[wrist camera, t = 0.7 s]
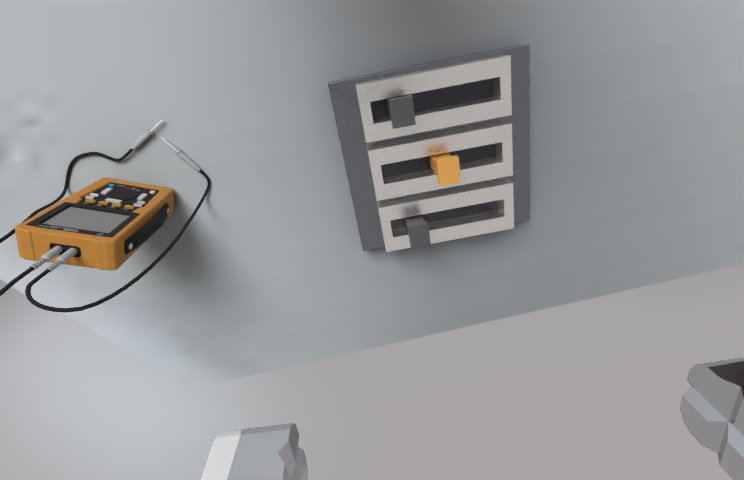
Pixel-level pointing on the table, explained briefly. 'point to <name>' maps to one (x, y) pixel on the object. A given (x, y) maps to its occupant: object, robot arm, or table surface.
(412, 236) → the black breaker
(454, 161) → the orange breaker
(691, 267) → the table surface
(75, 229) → the multimeter
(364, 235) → the breaker board
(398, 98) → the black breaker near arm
